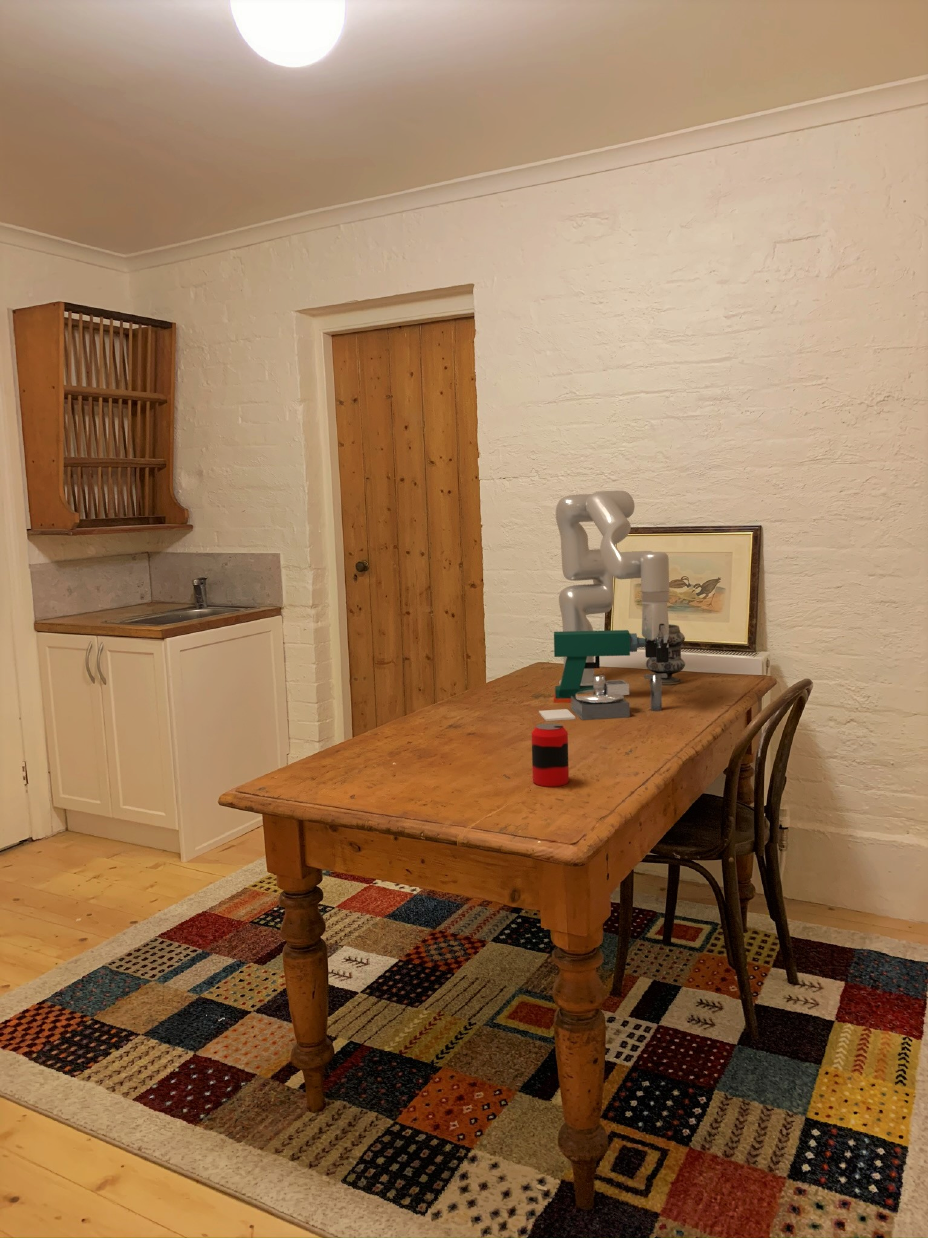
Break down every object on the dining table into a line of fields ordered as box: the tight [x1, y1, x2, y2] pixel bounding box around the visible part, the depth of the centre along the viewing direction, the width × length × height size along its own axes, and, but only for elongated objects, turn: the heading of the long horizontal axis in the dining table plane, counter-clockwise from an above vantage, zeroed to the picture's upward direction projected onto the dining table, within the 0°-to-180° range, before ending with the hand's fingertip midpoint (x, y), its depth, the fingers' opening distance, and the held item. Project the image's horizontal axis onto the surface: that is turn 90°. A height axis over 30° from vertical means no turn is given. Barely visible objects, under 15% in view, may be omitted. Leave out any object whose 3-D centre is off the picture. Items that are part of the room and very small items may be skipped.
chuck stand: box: [570, 695, 630, 721], centre depth 262 cm, size 13×13×4 cm
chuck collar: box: [576, 674, 630, 703], centre depth 261 cm, size 13×14×6 cm
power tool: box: [553, 629, 656, 704], centre depth 278 cm, size 32×7×20 cm, turn 84°
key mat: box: [538, 708, 576, 722], centre depth 261 cm, size 10×8×1 cm
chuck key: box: [644, 672, 667, 712], centre depth 263 cm, size 3×6×10 cm, turn 97°
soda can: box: [531, 722, 570, 788], centre depth 200 cm, size 8×8×12 cm
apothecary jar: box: [645, 624, 686, 686], centre depth 301 cm, size 12×12×18 cm
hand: (656, 659), depth 262 cm, fingers open, 9 cm apart
